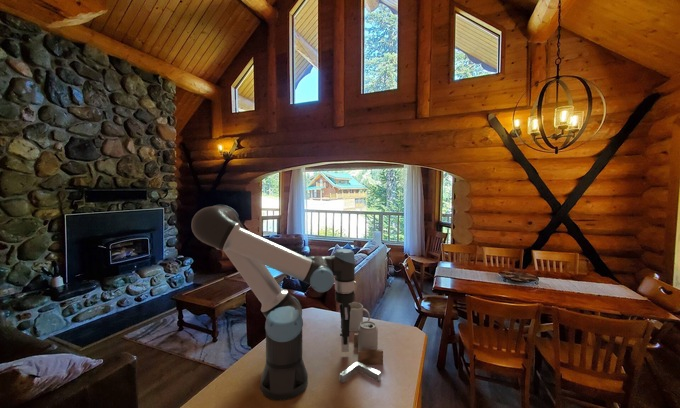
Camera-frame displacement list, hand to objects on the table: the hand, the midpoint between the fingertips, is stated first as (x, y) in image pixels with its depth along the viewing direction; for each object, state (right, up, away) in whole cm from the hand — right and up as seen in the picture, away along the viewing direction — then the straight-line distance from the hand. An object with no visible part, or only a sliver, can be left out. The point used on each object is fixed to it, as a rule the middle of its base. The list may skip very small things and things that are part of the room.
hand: (345, 350), depth 109 cm
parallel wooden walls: (+9, -2, +1) cm, 9 cm away
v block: (+5, -2, -12) cm, 13 cm away
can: (+9, -2, +1) cm, 9 cm away
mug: (+5, -1, +23) cm, 23 cm away
